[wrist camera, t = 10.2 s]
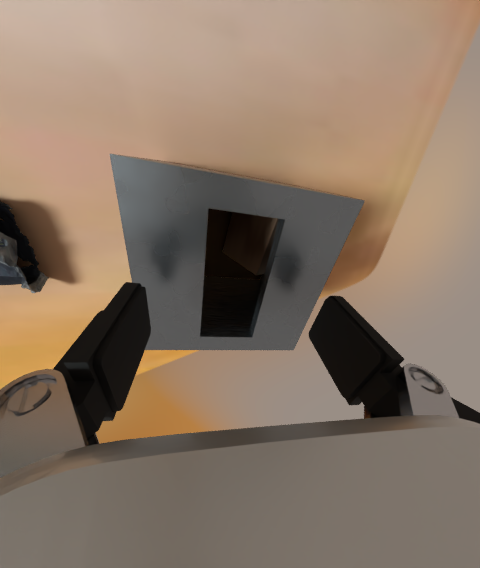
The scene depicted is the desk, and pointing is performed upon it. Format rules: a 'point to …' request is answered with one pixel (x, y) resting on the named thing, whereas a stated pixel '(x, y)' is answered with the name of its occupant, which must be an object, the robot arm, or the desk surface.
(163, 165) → the slot box
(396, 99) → the desk surface
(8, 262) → the electronic device
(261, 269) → the block
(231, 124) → the desk surface
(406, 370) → the robot arm
